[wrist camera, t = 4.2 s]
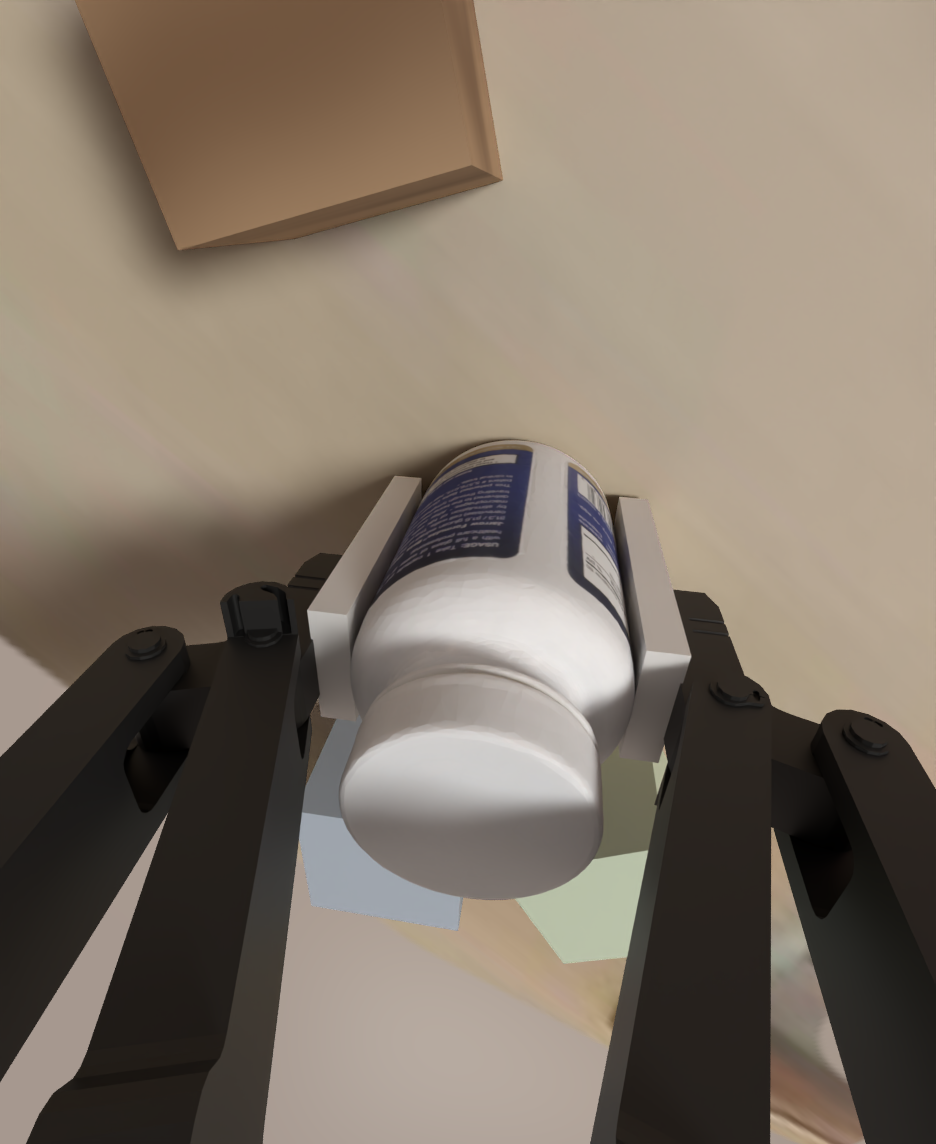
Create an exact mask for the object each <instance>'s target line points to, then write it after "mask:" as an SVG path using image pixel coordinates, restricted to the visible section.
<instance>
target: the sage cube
mask: <svg viewBox="0 0 936 1144" xmlns="http://www.w3.org/2000/svg"><path fill="white" fill-rule="evenodd" d="M667 763H668V761H667V758H666V756H665V754H664V752H663V750H662V753H661V757H660V760H659V763H654V762H647V761H640V760H633V759H625V758H620V757H619V746H617V747H616V748H615V750H614V751H613V753H612V754H611V755H610V756H609V757H608V758H607V759H606V760H605V761H604V762H603V764H601V779H602V797H603V818H604V821H603V836H602V840H601V843H600V846H599V849H598V851H597V853H596V855H595V857H594V858H593V860H592V862H591V863H590V864H589V865H588V866H587V867H586V869H585V870H583V871H582V872H581V873H580V874H579V875H578V876H577V877H575V878H573V879H572V880H570V881H569V882H567V883H566V884H564V885H562V886H560V887H558V888H555V889H552V890H550V891H547V892H544V893H541V894H538V895H533V896H528V897H523V898H515V899H516V901H517V902H518V903H519V905H520V906H521V907H522V909H523V910H524V911H525V913H526V914H527V915H528V917H529V918H530V919H531V921H532V922H533V923H534V925H535V926H536V927H537V929H538V930H539V931H540V933H541V934H542V935H543V937H544V938H545V939H546V941H547V942H548V943H549V945H550V946H551V947H552V949H553V950H554V951H555V953H556V954H557V955H558V957H559V958H560V959H561V961H562V962H563V963H564V964H566V963H576V962H585V961H595V960H605V959H614V958H624V957H627V955H628V950H629V945H630V940H631V935H632V930H633V925H634V920H635V915H636V910H637V905H638V900H639V895H640V889H641V884H642V879H643V874H644V869H645V864H646V859H647V854H648V849H649V844H650V839H651V834H652V829H653V824H654V819H655V814H656V809H657V806H656V805H654V804H655V800H656V797H657V794H658V791H659V788H660V785H661V782H662V778H663V775H664V772H665V769H666V766H667Z"/></svg>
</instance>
